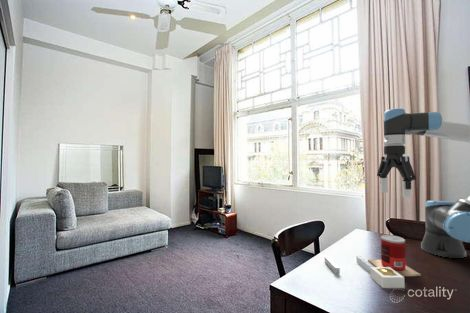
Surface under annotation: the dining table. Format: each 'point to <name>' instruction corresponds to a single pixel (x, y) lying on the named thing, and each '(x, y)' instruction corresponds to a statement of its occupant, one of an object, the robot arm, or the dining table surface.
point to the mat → (406, 272)
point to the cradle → (336, 269)
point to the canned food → (393, 252)
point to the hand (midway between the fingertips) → (394, 194)
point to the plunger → (386, 271)
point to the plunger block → (387, 278)
